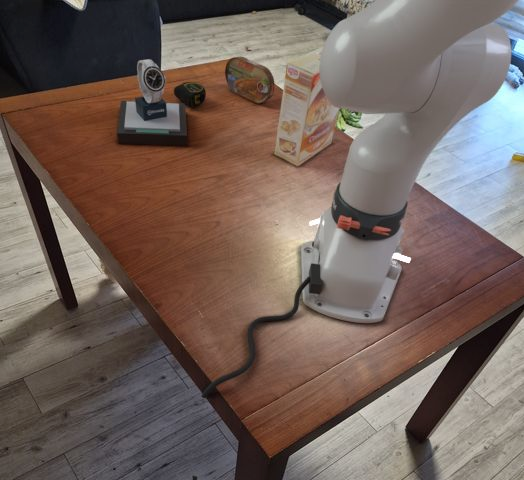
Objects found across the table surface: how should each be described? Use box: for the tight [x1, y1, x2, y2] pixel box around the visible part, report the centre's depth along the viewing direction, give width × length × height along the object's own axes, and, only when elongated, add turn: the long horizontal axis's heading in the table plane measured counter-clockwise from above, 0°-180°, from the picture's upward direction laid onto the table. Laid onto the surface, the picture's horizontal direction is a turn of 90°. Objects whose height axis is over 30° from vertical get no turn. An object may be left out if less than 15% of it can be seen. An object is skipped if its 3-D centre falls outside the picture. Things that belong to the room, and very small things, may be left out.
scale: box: [116, 100, 188, 147], centre depth 108 cm, size 15×15×3 cm
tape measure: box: [173, 81, 207, 108], centre depth 117 cm, size 7×7×4 cm
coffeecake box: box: [273, 46, 340, 167], centre depth 103 cm, size 15×7×20 cm, turn 143°
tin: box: [224, 56, 275, 104], centre depth 121 cm, size 15×3×8 cm, turn 50°
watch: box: [134, 58, 167, 121], centre depth 102 cm, size 6×8×11 cm
